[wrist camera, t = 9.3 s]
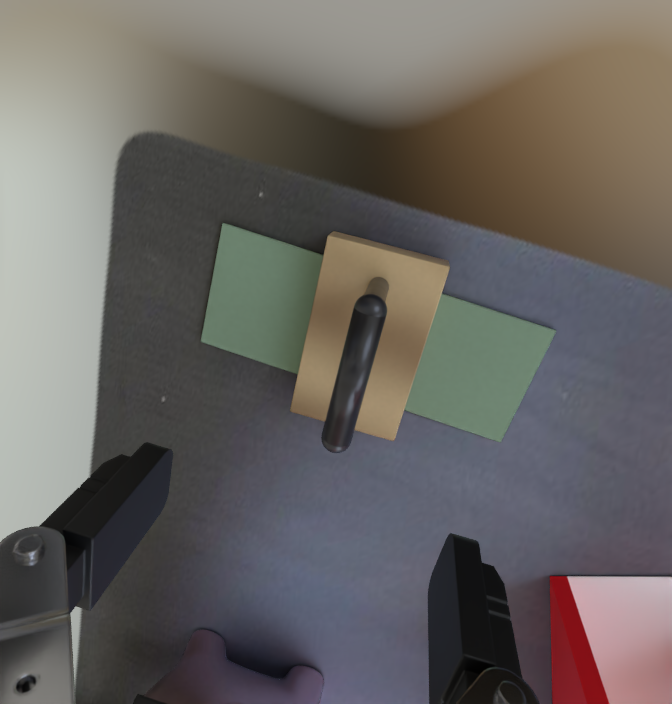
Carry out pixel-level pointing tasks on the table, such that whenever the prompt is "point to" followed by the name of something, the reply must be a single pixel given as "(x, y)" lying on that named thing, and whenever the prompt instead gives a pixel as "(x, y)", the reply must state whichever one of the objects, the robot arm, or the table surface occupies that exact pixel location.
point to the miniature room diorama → (611, 639)
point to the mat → (438, 355)
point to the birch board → (365, 337)
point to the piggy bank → (230, 679)
